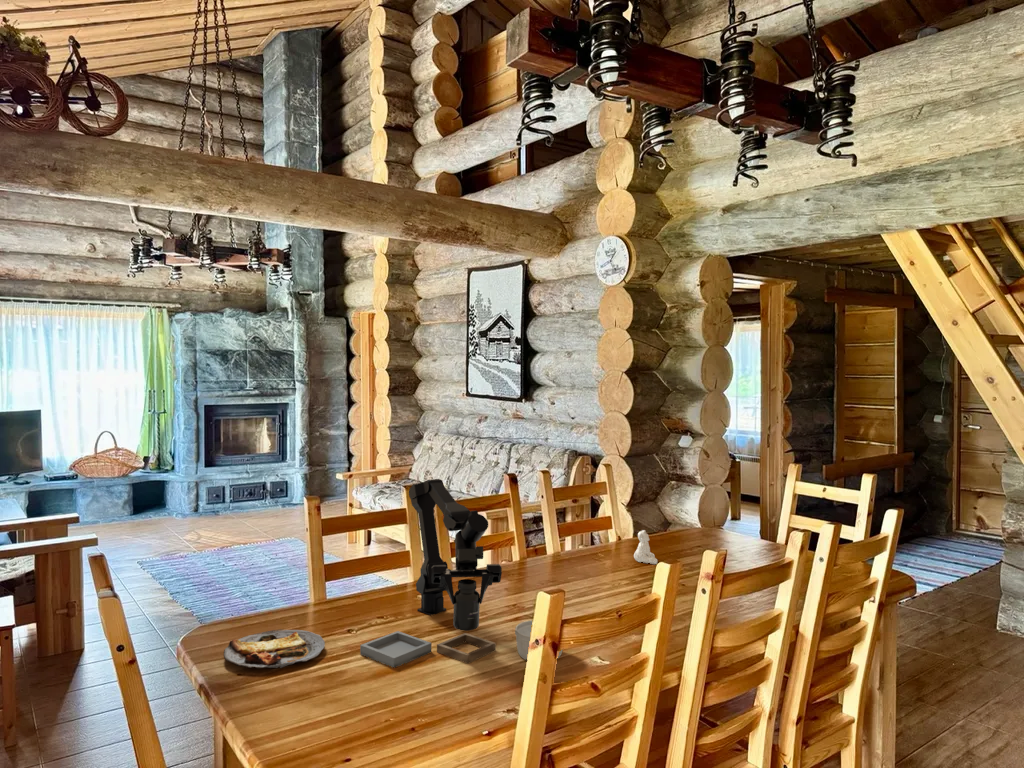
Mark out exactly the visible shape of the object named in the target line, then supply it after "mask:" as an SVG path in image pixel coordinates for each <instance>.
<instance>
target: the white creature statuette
mask: <svg viewBox="0 0 1024 768" xmlns="http://www.w3.org/2000/svg"><path fill="white" fill-rule="evenodd" d="M637 538H638V540H639V543H638V545H637V548H636V550H635V551H634V554H633V558H634V560H635V561H636V562H638V563H641V562H643V563H642V564H648V563H650V564H649V565H657V564H658V559H657V558H656V557H655V554H654V553H653V552H651V547H650V544H649V541H650V537H649V534H648V533H647V532H646V530H645V529H642V530H640V531H639V532H638V533H637Z"/></svg>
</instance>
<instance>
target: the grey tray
mask: <svg viewBox="0 0 1024 768" xmlns="http://www.w3.org/2000/svg"><path fill="white" fill-rule="evenodd" d="M432 643H433V642H431V641H427V640H424V639H422V638H419V637H415V636H414V635H410V634H407V633H405V632H402V631H400V630H396V631H394V632H392V633H389V634H386V635H384V636H380V637H378V638H375V639H373V640H369V641H368V642H365V643H362V644H360V645H359V646H360V649H359V652H360V653H359V654H360V655H361V656H363V657H365V656H366V657H365V658H368V657H369V658H368V659H370V658H371V660H373V661H375V660H376V661H375V662H378V661H379V662H378V663H380V662H381V663H380V664H384V665H385V664H386V665H385V666H388V665H389V666H388V667H390V666H391V668H393V667H394V669H396V668H398V667H400V666H403V665H404V663H405V664H407V663H409V662H412V661H414V660H417V659H419V658H422V657H424V656H426V655H428V653H429V654H430V652H431V653H432ZM421 656H422V657H421ZM402 664H403V665H402ZM397 666H398V667H397ZM395 667H396V668H395Z"/></svg>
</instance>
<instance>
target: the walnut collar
mask: <svg viewBox="0 0 1024 768" xmlns="http://www.w3.org/2000/svg"><path fill="white" fill-rule="evenodd" d="M465 643H467V644H471V645H473V646H476V647H479V648H476V649H474V650H472V651H470V652H468V653H467V652H465V651H462V650H459V649H456V648H455V647H457V646H459V645H462V644H465ZM452 647H453V648H452ZM496 651H497V642H494V641H491V640H488V639H485V638H482V637H479V636H476V635H474V634H470V633H468V632H464V633H462V634H458V635H457V636H454V637H452V638H450V639H447V640H445V641H442V642H439V643H438V644H436V653H438V654H441V655H443V654H444V655H443V656H446V657H449V658H451V657H452V658H451V659H454V658H455V660H457V659H458V660H457V661H460V662H463V663H465V664H469V663H472V662H474V661H476V660H478V659H481V658H483V657H485V656H486V655H489V654H491V653H494V652H496Z"/></svg>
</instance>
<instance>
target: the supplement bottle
mask: <svg viewBox="0 0 1024 768" xmlns="http://www.w3.org/2000/svg"><path fill="white" fill-rule="evenodd" d="M480 605H481V604H480V593H479V591H478V590H477V581H476V580H474V579H469V578H465V579H460V580H458V581H457V590H455V593H454V604H453V620H452V621H453V623H452V624H453V627H454V628H455V629H457V630H458V631H466V632H467V631H469V632H470V631H474V630H476V629H478V628H479V625H480Z"/></svg>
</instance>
